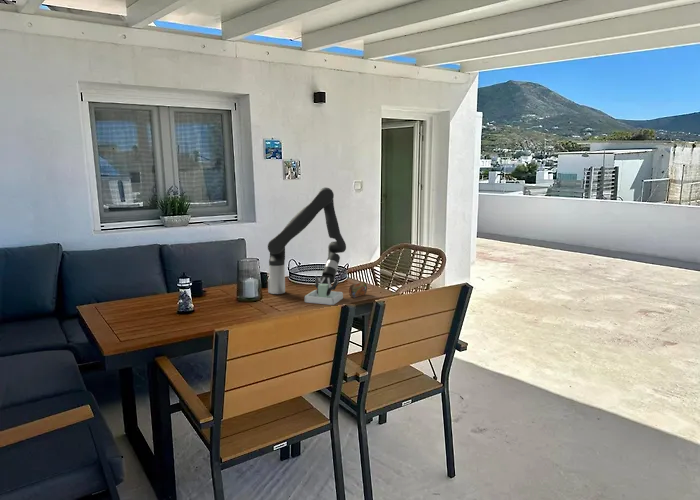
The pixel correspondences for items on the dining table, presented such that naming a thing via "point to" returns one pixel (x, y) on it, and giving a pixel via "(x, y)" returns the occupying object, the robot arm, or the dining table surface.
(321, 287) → the green block
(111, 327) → the dining table surface
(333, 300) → the tray
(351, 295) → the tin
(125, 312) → the dining table surface
